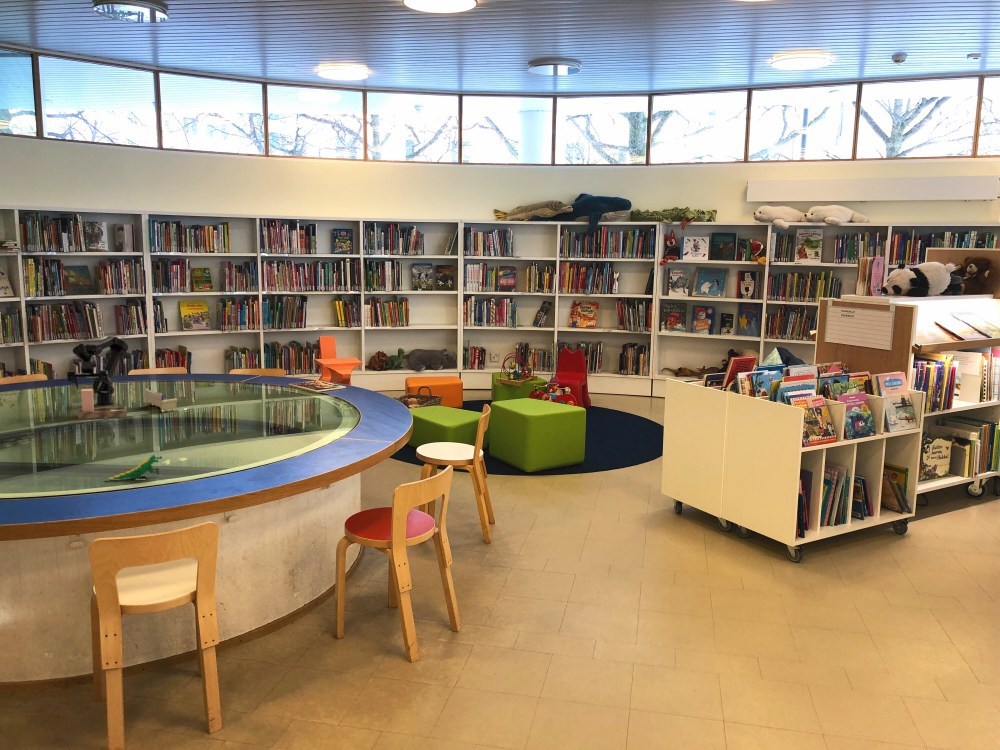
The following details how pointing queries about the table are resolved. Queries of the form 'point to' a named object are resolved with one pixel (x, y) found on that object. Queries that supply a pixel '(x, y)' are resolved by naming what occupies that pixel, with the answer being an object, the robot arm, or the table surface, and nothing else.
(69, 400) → the table surface
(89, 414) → the box
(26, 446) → the table surface
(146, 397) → the toy sofa
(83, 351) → the robot arm
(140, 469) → the crocodile
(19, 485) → the table surface
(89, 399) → the coral block
